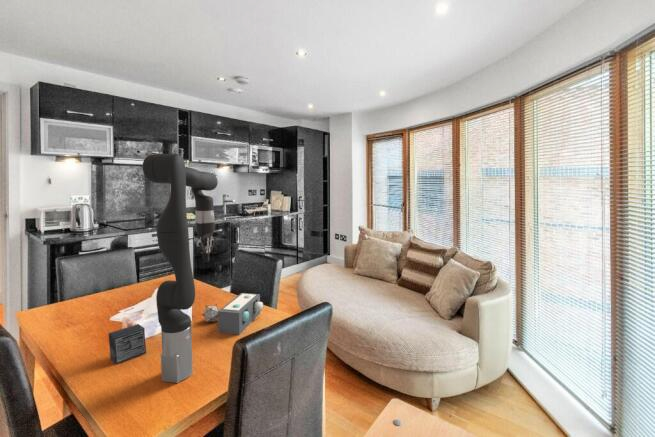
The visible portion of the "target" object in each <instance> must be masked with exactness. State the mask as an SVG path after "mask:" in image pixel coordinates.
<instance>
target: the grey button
mask: <svg viewBox="0 0 655 437" xmlns="http://www.w3.org/2000/svg"><path fill="white" fill-rule="evenodd" d="M263 307H264V303H263V301H260V302H255V303H254V311H260V312H262V311H263V309H264V308H263Z"/></svg>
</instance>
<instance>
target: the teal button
mask: <svg viewBox="0 0 655 437" xmlns="http://www.w3.org/2000/svg"><path fill="white" fill-rule="evenodd" d="M248 318H249V312H248V311H244V312H243V313H242V321H248Z"/></svg>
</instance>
